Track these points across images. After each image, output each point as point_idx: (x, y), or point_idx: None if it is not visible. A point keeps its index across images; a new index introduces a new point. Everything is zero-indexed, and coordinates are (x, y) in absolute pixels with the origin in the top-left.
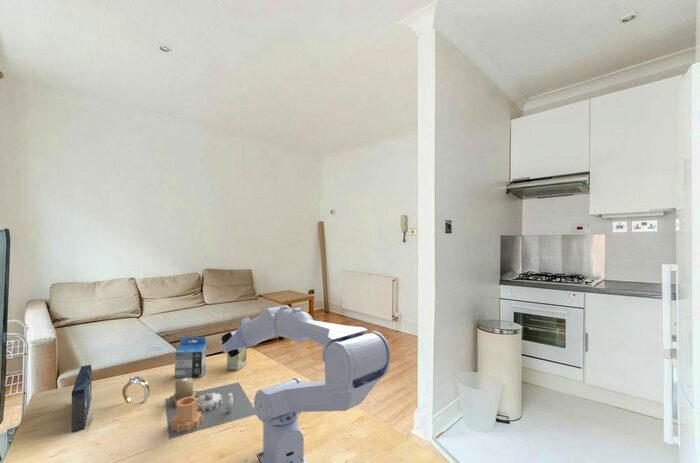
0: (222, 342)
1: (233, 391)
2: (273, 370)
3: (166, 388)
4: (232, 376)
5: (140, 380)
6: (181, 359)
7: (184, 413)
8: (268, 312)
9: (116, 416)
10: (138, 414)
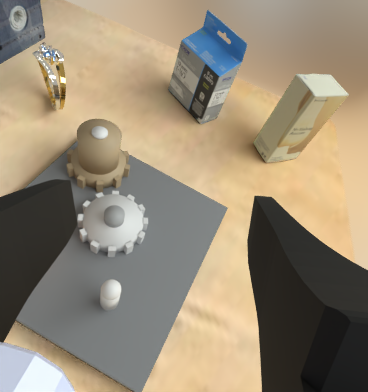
0: (12, 194)
1: (190, 230)
2: (326, 229)
3: (131, 103)
4: (243, 171)
5: (51, 62)
6: (184, 63)
7: None
8: None
9: (9, 103)
10: (30, 128)
